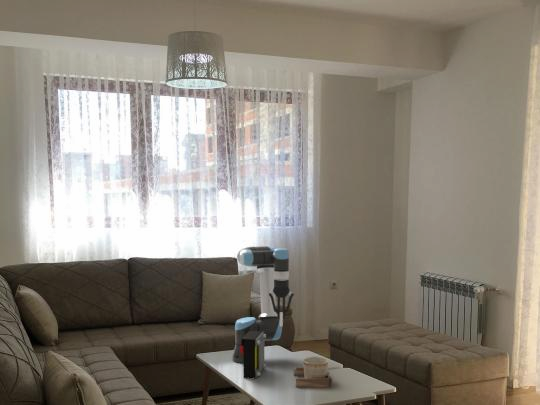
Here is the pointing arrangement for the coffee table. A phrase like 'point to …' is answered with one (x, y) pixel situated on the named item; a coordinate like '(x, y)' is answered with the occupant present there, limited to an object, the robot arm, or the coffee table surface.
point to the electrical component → (253, 353)
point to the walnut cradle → (311, 379)
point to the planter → (315, 367)
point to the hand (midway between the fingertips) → (281, 325)
